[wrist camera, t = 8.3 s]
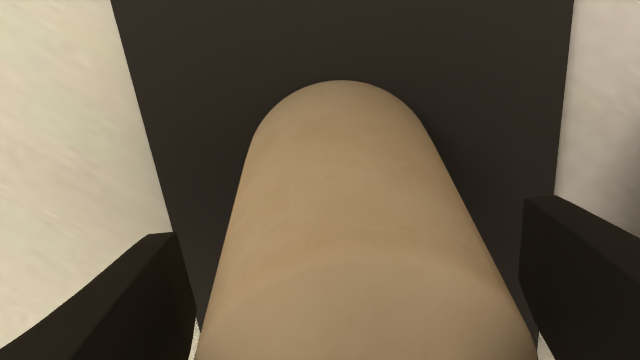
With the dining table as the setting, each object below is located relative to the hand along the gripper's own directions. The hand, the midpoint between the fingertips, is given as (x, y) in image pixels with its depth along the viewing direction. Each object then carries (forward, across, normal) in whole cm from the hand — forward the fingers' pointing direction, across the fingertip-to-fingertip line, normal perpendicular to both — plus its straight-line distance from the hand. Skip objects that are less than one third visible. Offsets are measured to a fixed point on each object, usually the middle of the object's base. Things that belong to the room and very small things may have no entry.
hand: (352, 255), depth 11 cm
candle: (+5, 0, 0) cm, 5 cm away
